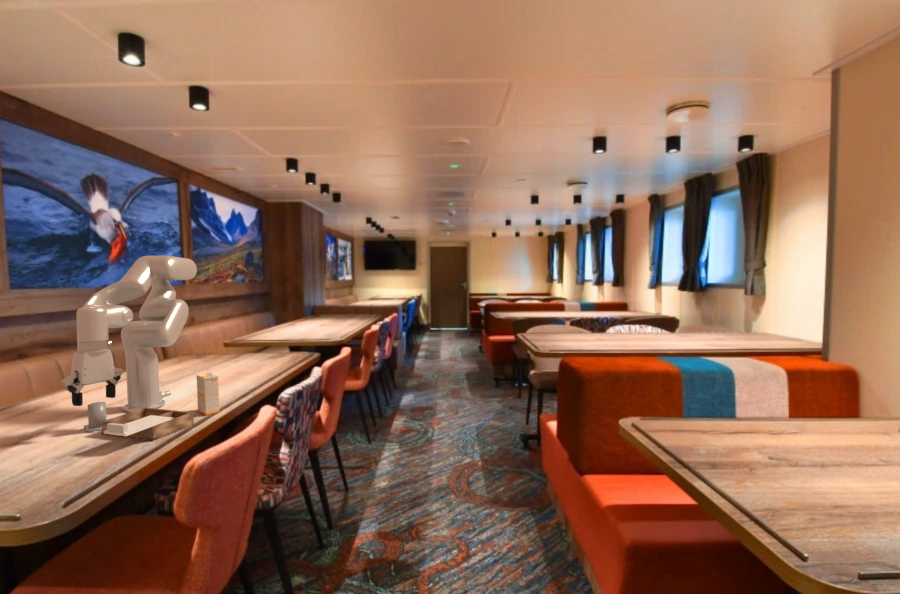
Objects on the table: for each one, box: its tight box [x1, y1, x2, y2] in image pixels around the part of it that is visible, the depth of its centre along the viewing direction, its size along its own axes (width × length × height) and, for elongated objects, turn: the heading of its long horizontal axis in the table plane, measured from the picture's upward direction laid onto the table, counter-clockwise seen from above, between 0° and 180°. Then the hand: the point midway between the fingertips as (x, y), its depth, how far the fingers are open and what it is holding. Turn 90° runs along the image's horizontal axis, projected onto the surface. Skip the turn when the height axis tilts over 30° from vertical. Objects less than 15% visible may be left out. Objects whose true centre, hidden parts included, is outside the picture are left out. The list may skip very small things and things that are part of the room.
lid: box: [103, 415, 171, 437], centre depth 126 cm, size 14×8×3 cm, turn 164°
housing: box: [101, 408, 195, 441], centre depth 135 cm, size 14×20×4 cm
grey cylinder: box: [83, 401, 108, 433], centre depth 136 cm, size 6×7×8 cm
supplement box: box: [196, 372, 220, 416], centre depth 152 cm, size 8×5×13 cm, turn 47°
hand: (94, 401), depth 134 cm, fingers open, 9 cm apart
